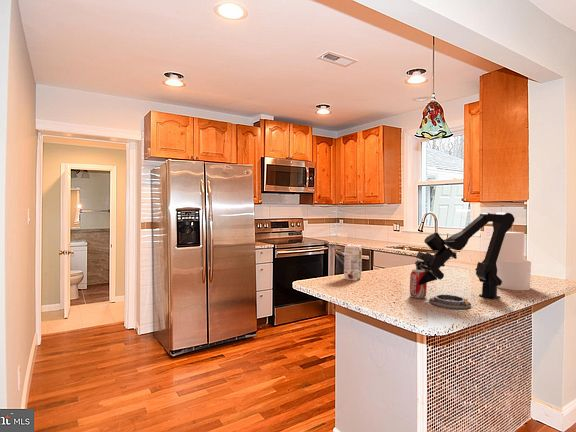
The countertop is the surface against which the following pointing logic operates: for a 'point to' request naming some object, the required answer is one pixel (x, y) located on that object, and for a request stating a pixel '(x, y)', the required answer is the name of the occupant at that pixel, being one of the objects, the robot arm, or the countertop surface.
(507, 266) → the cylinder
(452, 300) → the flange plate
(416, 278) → the soda can
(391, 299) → the countertop surface
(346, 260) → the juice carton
